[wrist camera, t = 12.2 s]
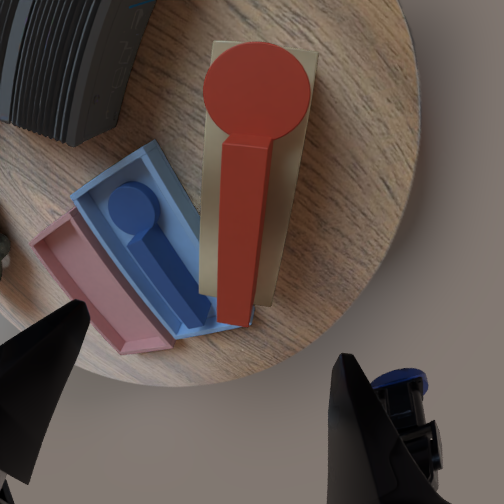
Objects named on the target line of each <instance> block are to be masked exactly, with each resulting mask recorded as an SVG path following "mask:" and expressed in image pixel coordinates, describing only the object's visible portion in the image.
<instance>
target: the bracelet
mask: <svg viewBox="0 0 504 504" xmlns="http://www.w3.org/2000/svg"><path fill="white" fill-rule="evenodd" d="M9 251H10V240H9V239H8V238H7V237H6V236H5V235H3V234H0V280H1V277H2V261H1V260H2V259H3V258H4V257H5V256H6V255H7V254H8V252H9Z"/></svg>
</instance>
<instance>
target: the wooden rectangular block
mask: <svg viewBox="0 0 504 504" xmlns="http://www.w3.org/2000/svg"><path fill="white" fill-rule="evenodd" d="M242 43H246V42H238V41H220V40H215V41H213V44H212V53H211V62H210V66H211V64H212V63H213V62H214V61H215V59H216V58H217V57H218V56H219V55H221V54H222V53H223V52H225V51H226V50H228V49H229V48H231V47H233V46H236V45H238V44H242ZM279 47H282V48H283V49H285V50H287V51H288V52H290V53H291V54H292V55H293V56H295V57H296V59H297V60H298V61H299V62H300V63H301V64H302V66H303V67H304V69H305V71H306V73H307V76H308V78H309V82H310V88H311V98H310V104H309V107H308V110H307V113H306V114H305V116H304V118H303V120H302V121H301V122H300V124H299V125H298V126H297V127H296V128H295V129H294V130H293V131H291V132H290V133H288V134H287V135H285V136H283V137H281V138H279V139H276V140H273V149H272V158H271V167H270V175H269V184H268V193H267V201H266V210H265V218H264V227H263V235H262V244H261V252H260V260H259V269H258V277H257V285H256V293H255V298H254V303H253V304H254V305H260V306H266V307H271V305H272V301H273V296H274V292H275V287H276V282H277V278H278V273H279V268H280V264H281V259H282V254H283V249H284V244H285V240H286V235H287V230H288V225H289V220H290V215H291V210H292V205H293V200H294V194H295V189H296V184H297V179H298V173H299V168H300V163H301V157H302V152H303V146H304V141H305V135H306V129H307V124H308V118H309V112H310V106H311V100H312V95H313V88H314V82H315V76H316V70H317V64H318V57H319V53H318V52H315V51H310V50H304V49H298V48H292V47H285V46H279ZM229 136H230V135H228V134H227V133H225V132H224V131H222V130H221V129H220V128H219V127H218V126H217V125H216V124H215V123H214V121H213V120H212V119H211V117H210V115H209V114H208V111H207V109H206V119H205V132H204V147H203V164H202V184H201V207H200V239H199V294H201V295H206V296H211V297H217V267H218V228H219V200H220V176H221V155H222V143H223V142H224V141H225V140H226V139H227V138H228V137H229Z"/></svg>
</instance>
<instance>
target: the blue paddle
mask: <svg viewBox="0 0 504 504" xmlns="http://www.w3.org/2000/svg"><path fill="white" fill-rule="evenodd" d="M108 211H109V215H110V217H111V219H112V221H113V222H114V224H115V225H116V226H117V227H118V228H119V229H120V230H122V231H123V232H125V233H127V234H130V235H135V236H134V237H133V238H132V239H131V241H130V242H129V243H128V244H127V246H126V247H127V248H128V249H129V251H130V252H131V254H132V255H133V257H134V258H135V259H136V261H137V262H138V264H139V265H140V266H141V268H142V269H143V271H144V272H145V273H146V275H147V276H148V277H149V279H150V280H151V281H152V283H153V284H154V285H155V287H156V288H157V290H158V291H159V292H160V293H161V295H162V296H163V297H164V299H165V300H166V301H167V303H168V304H169V305H170V306H171V308H172V309H173V310H174V312H175V313H176V314H177V315H178V317H179V318H180V319H181V320H182V322H183V323H184V324H185V325H186V327H187V328H188V329H192V328H197V327H202V326H204V325H205V322H206V319H207V316H208V313H209V310H210V307H211V302H210V301H209V300H208V298H207V297H206V295H201V294H199V285H198V284H197V282H196V281H195V279H194V278H193V276H192V275H191V273H190V272H189V271H188V269H187V268H186V266H185V265H184V263H183V262H182V260H181V259H180V257H179V256H178V254H177V253H176V251H175V250H174V248H173V246H172V245H171V243H170V242H169V240H168V239H167V237H166V236H165V234H164V233H163V231H162V229H161V228H160V226H159V225H158V223H157V221H158V220H159V217H160V203H159V200H158V198H157V196H156V195H155V193H154V192H153V191H152V190H151V189H150V188H149V187H148V186H146V185H145V184H143V183H140V182H136V181H129V182H125V183H123V184H121V185H120V186H119V187H118V188H116V189H115V190H114V191H113V192H112V193H111V195H110V197H109V200H108Z"/></svg>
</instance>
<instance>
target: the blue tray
mask: <svg viewBox="0 0 504 504" xmlns="http://www.w3.org/2000/svg"><path fill="white" fill-rule="evenodd" d="M129 181H136V182H140V183H143V184H145V185H146V186H148V187H149V188H150V189H151V190H152V191H153V192H154V193H155V195H156V196H157V198H158V200H159V203H160V217H159V220H158V221H157V223H158V225H159V226H160V228H161V229H162V231H163V233H164V234H165V236H166V237H167V239H168V240H169V242H170V243H171V245H172V246H173V248H174V250H175V251H176V253H177V254H178V256H179V257H180V259H181V260H182V262H183V263H184V265H185V266H186V268H187V269H188V271H189V272H190V273H191V275H192V276H193V278H194V279H195V281H196V282H197V284H198V285H199V239H200V216H199V214H198V212H197V211H196V209H195V207H194V206H193V204H192V202H191V200H190V199H189V197H188V195H187V193H186V192H185V190H184V188H183V187H182V185H181V183H180V181H179V180H178V178H177V176H176V174H175V173H174V171H173V169H172V167H171V166H170V164H169V162H168V160H167V159H166V157H165V155H164V153H163V152H162V150H161V148H160V146H159V144H158V143H157V141H156V139H154V140H153V141H151V142H149V143H148V144H146V145H144V146H143V147H141V148H139V149H138V150H136V151H134V152H133V153H131V154H130V155H128V156H127V157H125V158H123V159H122V160H120V161H119V162H117V163H116V164H114V165H113V166H111V167H110V168H108V169H107V170H105V171H104V172H102V173H101V174H99V175H98V176H96V177H95V178H94V179H92V180H91V181H89V182H88V183H87V184H85V185H84V186H82V187H81V188H80V189H78V190H77V191H76V192H74V193H73V194H72V195H70V198H71V199H72V201H74V204H75V206H76V207H77V209H78V210H79V212H80V213H81V215H82V216H83V218H84V220H85V221H86V223H87V224H88V226H89V227H90V229H91V230H92V232H93V233H94V234H95V236H96V237H97V239H98V240H99V242H100V243H101V245H102V246H103V248H104V249H105V250H106V252H107V253H108V255H109V256H110V257H111V259H112V260H113V262H114V263H115V264H116V266H117V267H118V268H119V270H120V271H121V272H122V274H123V275H124V276H125V278H126V279H127V280H128V282H129V283H130V284H131V286H132V287H133V288H134V290H135V291H136V292H137V293H138V295H139V296H140V297H141V299H142V300H143V301H144V302H145V304H146V305H147V306H148V307H149V309H150V310H151V311H152V312H153V313H154V315H155V316H156V317H157V318H158V320H159V321H160V322H161V323H162V324H163V326H164V327H165V328H166V329H167V330H168V331H169V333H170V334H171V335H172V336H173V337H174V338H175V340H177V339H183V338H188V337H194V336H199V335H204V334H210V333H215V332H220V331H225V330H230V329H234V328H239V327H242V326H235V325H230V324H224V323H218V322H217V297H211V296H206V297H207V298H208V300H209V301H210V302H211V307H210V310H209V313H208V316H207V319H206V322H205V325H204V326H202V327H197V328H192V329H188V328H187V327H186V325H185V324H184V323H183V322H182V320H181V319H180V318H179V317H178V315H177V314H176V313H175V312H174V310H173V309H172V308H171V306H170V305H169V304H168V303H167V301H166V300H165V299H164V297H163V296H162V295H161V293H160V292H159V291H158V290H157V288H156V287H155V285H154V284H153V283H152V281H151V280H150V279H149V277H148V276H147V275H146V273H145V272H144V271H143V269H142V268H141V266H140V265H139V264H138V262H137V261H136V259H135V258H134V257H133V255H132V254H131V252H130V251H129V249H128V248H127V247H126V246H127V244H128V243H129V242H130V241H131V239H132V238H133V237H134V236H135V235H130V234H127V233H125V232H123V231H122V230H120V229H119V228H118V227H117V226H116V225H115V224H114V222H113V221H112V219H111V217H110V215H109V211H108V200H109V197H110V195H111V193H112V192H113V191H114V190H115V189H116V188H118V187H119V186H120V185H121V184H123V183H125V182H129ZM254 311H255V307H254V306H253V308H252V313H251V318H250V323H249V325H252V321H253V316H254Z"/></svg>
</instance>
